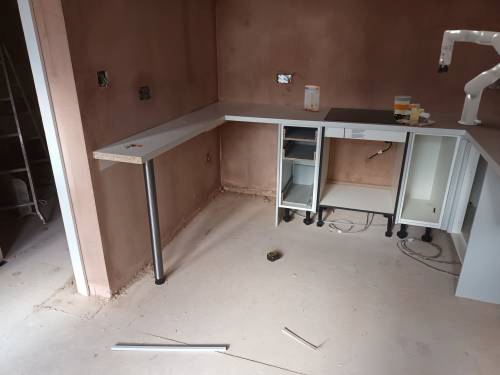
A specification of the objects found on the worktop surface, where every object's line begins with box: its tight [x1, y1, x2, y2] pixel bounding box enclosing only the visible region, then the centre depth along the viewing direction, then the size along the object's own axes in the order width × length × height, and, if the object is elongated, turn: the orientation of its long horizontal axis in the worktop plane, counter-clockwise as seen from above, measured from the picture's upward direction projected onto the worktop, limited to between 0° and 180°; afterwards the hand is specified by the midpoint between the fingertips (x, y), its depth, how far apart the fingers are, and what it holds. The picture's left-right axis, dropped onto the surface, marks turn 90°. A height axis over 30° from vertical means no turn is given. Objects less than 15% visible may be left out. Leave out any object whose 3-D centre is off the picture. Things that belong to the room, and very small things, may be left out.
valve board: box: [395, 115, 436, 128], centre depth 285 cm, size 20×20×4 cm
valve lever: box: [409, 103, 421, 109], centre depth 279 cm, size 11×3×4 cm, turn 126°
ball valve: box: [405, 107, 431, 122], centre depth 284 cm, size 18×6×9 cm, turn 36°
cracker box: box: [303, 84, 321, 112], centre depth 333 cm, size 14×6×21 cm, turn 30°
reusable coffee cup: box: [393, 95, 412, 115], centre depth 312 cm, size 13×13×15 cm
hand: (442, 72), depth 284 cm, fingers open, 9 cm apart
